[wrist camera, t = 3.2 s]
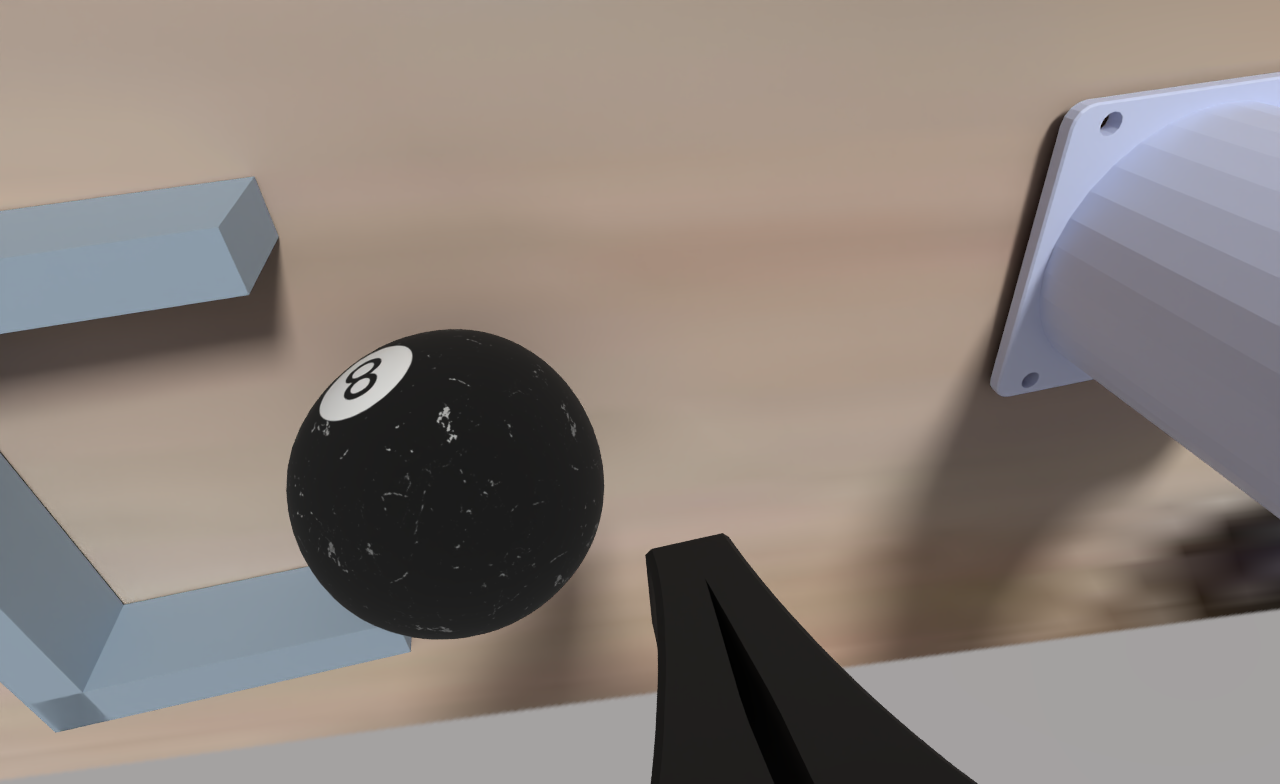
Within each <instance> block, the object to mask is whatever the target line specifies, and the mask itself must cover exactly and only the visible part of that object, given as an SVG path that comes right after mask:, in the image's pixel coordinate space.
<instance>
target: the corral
mask: <svg viewBox="0 0 1280 784" xmlns="http://www.w3.org/2000/svg"><path fill="white" fill-rule="evenodd" d="M278 237H279V236H278V234H277V231H276V229H275V226H274V224H273V222H272V219H271V217H270V214H269V212H268V209H267V207H266V204H265V202H264V199H263V197H262V194H261V192H260V189H259V187H258V184H257V182H256V179H255V177H247V178H240V179H232V180H225V181H218V182H210V183H203V184H196V185H188V186H181V187H174V188H166V189H159V190H152V191H144V192H137V193H129V194H122V195H115V196H107V197H100V198H93V199H85V200H78V201H71V202H63V203H56V204H49V205H41V206H34V207H26V208H19V209H12V210H4V211H0V334H3V333H9V332H16V331H22V330H28V329H35V328H41V327H47V326H54V325H60V324H67V323H73V322H79V321H86V320H92V319H98V318H105V317H111V316H118V315H124V314H130V313H137V312H143V311H149V310H156V309H162V308H169V307H175V306H181V305H188V304H194V303H200V302H207V301H213V300H219V299H226V298H232V297H239V296H245V295H249V294H250V292H251V290H252V288H253V286H254V284H255V282H256V280H257V278H258V276H259V274H260V272H261V270H262V268H263V266H264V265H265V263H266V261H267V259H268V257H269V255H270V253H271V251H272V249H273V247H274V245H275V243H276V241H277V239H278ZM411 638H412V637H409V636H404V635H400V634H396V633H392V632H389V631H387V630H384V629H381V628H379V627H376V626H374V625H372V624H370V623H368V622H366V621H364V620H362V619H360V618H359V617H357V616H356V615H354V614H353V613H351V612H350V611H348V610H347V609H346V608H344V607H343V606H342V605H341V604H339V603H338V602H337V601H336V600H335V599H334V598H333V597H332V596H331V595H330V594H329V593H328V592H327V590H326V589H325V588H324V587H323V586H322V585H321V584H320V582H319V581H318V580H317V578H316V577H315V575H314V574H313V573H312V571H311V569H310V568H309V566H308V567H304V568H299V569H294V570H289V571H284V572H279V573H275V574H270V575H265V576H260V577H255V578H251V579H246V580H241V581H236V582H231V583H227V584H222V585H217V586H212V587H207V588H203V589H198V590H193V591H188V592H183V593H178V594H174V595H169V596H164V597H159V598H154V599H150V600H145V601H140V602H135V603H130V604H126V605H123V603H122V602H121V601H120V600H119V598H118V597H117V596H116V595H115V593H114V592H113V591H112V590H111V589H110V587H109V586H108V585H107V584H106V582H105V581H104V580H103V579H102V577H101V576H100V575H99V574H98V573H97V571H96V570H95V569H94V568H93V566H92V565H91V564H90V563H89V561H88V560H87V559H86V558H85V557H84V555H83V554H82V553H81V552H80V550H79V549H78V548H77V547H76V545H75V544H74V543H73V542H72V541H71V539H70V538H69V537H68V536H67V534H66V533H65V532H64V531H63V529H62V528H61V527H60V526H59V525H58V523H57V522H56V521H55V520H54V518H53V517H52V516H51V515H50V513H49V512H48V511H47V510H46V509H45V507H44V506H43V505H42V504H41V502H40V501H39V500H38V499H37V497H36V496H35V495H34V494H33V493H32V491H31V490H30V489H29V488H28V486H27V485H26V484H25V483H24V481H23V480H22V479H21V478H20V477H19V475H18V474H17V473H16V472H15V470H14V469H13V468H12V467H11V465H10V464H9V463H8V462H7V461H6V459H5V458H4V457H3V456H2V454H1V453H0V682H1V683H2V684H3V685H4V686H5V687H6V688H8V689H9V690H10V691H11V692H12V693H13V694H14V695H15V696H16V697H17V698H18V699H20V700H21V701H22V702H23V703H24V704H25V705H26V706H27V707H28V708H29V709H30V710H32V711H33V712H34V713H35V714H36V715H37V716H38V717H39V718H40V719H41V720H43V721H44V722H45V723H46V724H47V725H48V726H49V727H50V728H51V729H52V730H53V731H55V732H60V731H65V730H69V729H74V728H78V727H82V726H87V725H91V724H95V723H100V722H104V721H109V720H113V719H117V718H122V717H126V716H131V715H135V714H139V713H144V712H148V711H153V710H157V709H161V708H166V707H170V706H175V705H179V704H183V703H188V702H192V701H197V700H201V699H205V698H210V697H214V696H219V695H223V694H227V693H232V692H236V691H241V690H245V689H249V688H254V687H258V686H263V685H267V684H271V683H276V682H280V681H285V680H289V679H293V678H298V677H302V676H306V675H311V674H315V673H320V672H324V671H328V670H333V669H337V668H342V667H346V666H350V665H355V664H359V663H364V662H368V661H372V660H377V659H381V658H386V657H390V656H394V655H399V654H403V653H408V652H411Z"/></svg>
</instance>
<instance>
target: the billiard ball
mask: <svg viewBox="0 0 1280 784" xmlns="http://www.w3.org/2000/svg"><path fill="white" fill-rule="evenodd" d="M286 492H287V503H288V512H289V517H290V521H291V525H292V529H293V533H294V536H295V538H296V541H297V543H298V546H299V548H300V551H301V553H302V555H303V557H304V559H305V561H306V562H307V564H308V566H309V568H310V569H311V571H312V573H313V574H314V575H315V577H316V578H317V580H318V581H319V582H320V584H321V585H322V586H323V587H324V588H325V589H326V590H327V592H328V593H329V594H330V595H331V596H332V597H333V598H334V599H335V600H336V601H337V602H338V603H339V604H341V605H342V606H343V607H344V608H346V609H347V610H348V611H350V612H351V613H353V614H354V615H356V616H357V617H359V618H360V619H362V620H364V621H366V622H368V623H370V624H372V625H374V626H376V627H379V628H381V629H384V630H387V631H389V632H392V633H396V634H400V635H404V636H409V637H414V638H422V639H458V638H466V637H471V636H476V635H480V634H485V633H488V632H492V631H495V630H498V629H501V628H503V627H505V626H508V625H510V624H512V623H514V622H516V621H518V620H520V619H522V618H524V617H525V616H527V615H529V614H530V613H532V612H533V611H535V610H536V609H538V608H539V607H541V606H542V605H543V604H544V603H546V602H547V601H548V600H549V599H551V598H552V597H553V596H554V595H555V594H556V593H557V592H558V591H559V590H560V589H561V588H562V587H563V586H564V585H565V583H566V582H567V581H568V580H569V579H570V578H571V577H572V575H573V574H574V573H575V571H576V570H577V569H578V567H579V566H580V564H581V563H582V561H583V559H584V558H585V556H586V554H587V552H588V550H589V548H590V546H591V544H592V542H593V540H594V537H595V534H596V531H597V528H598V525H599V521H600V517H601V512H602V507H603V495H604V475H603V464H602V459H601V454H600V449H599V445H598V442H597V439H596V436H595V433H594V430H593V427H592V425H591V423H590V421H589V418H588V416H587V414H586V412H585V410H584V408H583V407H582V405H581V403H580V402H579V400H578V398H577V397H576V396H575V394H574V393H573V391H572V390H571V389H570V387H569V386H568V385H567V383H566V382H565V381H564V380H563V379H562V378H561V377H560V375H559V374H558V373H557V372H556V371H555V370H554V369H553V368H551V367H550V366H549V365H548V364H547V363H546V362H545V361H543V360H542V359H541V358H539V357H538V356H536V355H535V354H534V353H532V352H531V351H529V350H527V349H526V348H524V347H522V346H521V345H519V344H516V343H514V342H512V341H510V340H507V339H505V338H502V337H499V336H496V335H493V334H489V333H485V332H480V331H473V330H462V329H448V330H436V331H430V332H424V333H419V334H416V335H412V336H408V337H404V338H402V339H399V340H396V341H393V342H391V343H389V344H386V345H384V346H382V347H380V348H378V349H376V350H375V351H373V352H371V353H370V354H368V355H366V356H365V357H363V358H361V359H360V360H359V361H357V362H356V363H354V364H353V365H352V366H350V367H349V368H348V369H347V370H346V371H344V372H343V373H342V374H341V375H340V376H339V377H338V378H337V379H336V380H334V381H333V383H332V384H331V385H330V386H329V387H328V388H327V389H326V390H325V391H324V392H323V394H322V395H321V396H320V398H319V399H318V400H317V401H316V403H315V404H314V405H313V407H312V408H311V410H310V411H309V413H308V415H307V417H306V418H305V420H304V422H303V424H302V425H301V427H300V430H299V432H298V434H297V437H296V439H295V442H294V445H293V447H292V451H291V455H290V460H289V464H288V470H287V489H286Z"/></svg>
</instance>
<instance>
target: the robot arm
mask: <svg viewBox="0 0 1280 784" xmlns="http://www.w3.org/2000/svg"><path fill="white" fill-rule="evenodd" d="M1108 115H1109V118H1108V120H1107V122H1106V124H1105V125H1104V126H1103V127H1102V128H1101V129H1100V127H1101V124H1102V122H1103V120H1104V119H1105V118H1106V117H1107V116H1108ZM1093 379H1094V380H1096V381H1097V382H1098V383H1100V384H1101V385H1102V386H1104V387H1105V388H1106V389H1108V390H1109V391H1110V392H1112V393H1113V394H1114V395H1116V396H1117V397H1118V398H1120V399H1121V400H1122V401H1124V402H1125V403H1126V404H1128V405H1129V406H1130V407H1132V408H1133V409H1134V410H1136V411H1137V412H1138V413H1140V414H1141V415H1142V416H1144V417H1145V418H1146V419H1148V420H1149V421H1150V422H1152V423H1153V424H1154V425H1156V426H1157V427H1158V428H1160V429H1161V430H1162V431H1164V432H1165V433H1166V434H1168V435H1169V436H1170V437H1172V438H1173V439H1174V440H1176V441H1177V442H1178V443H1180V444H1181V445H1182V446H1184V447H1185V448H1186V449H1188V450H1189V451H1190V452H1192V453H1193V454H1194V455H1196V456H1197V457H1198V458H1199V459H1201V460H1202V461H1203V462H1205V463H1206V464H1207V465H1209V466H1210V467H1211V468H1213V469H1214V470H1215V471H1217V472H1218V473H1219V474H1221V475H1222V476H1223V477H1225V478H1226V479H1227V480H1229V481H1230V482H1231V483H1233V484H1234V485H1235V486H1237V487H1238V488H1239V489H1241V490H1242V491H1243V492H1245V493H1246V494H1247V495H1249V496H1250V497H1251V498H1253V499H1254V500H1255V501H1257V502H1258V503H1259V504H1261V505H1262V506H1263V507H1265V508H1266V509H1267V510H1269V511H1270V512H1271V513H1273V514H1274V515H1275V516H1277V517H1278V518H1279V519H1280V72H1275V73H1268V74H1261V75H1254V76H1247V77H1240V78H1233V79H1226V80H1219V81H1212V82H1205V83H1199V84H1192V85H1185V86H1178V87H1171V88H1164V89H1157V90H1150V91H1143V92H1136V93H1129V94H1122V95H1115V96H1108V97H1101V98H1094V99H1087V100H1084V101H1081V102H1079V103H1077V104H1076V105H1075V106H1073V107H1072V108H1071V109H1070V110H1069V111H1068V113H1067V114H1066V115H1065V116H1064V118H1063V121H1062V123H1061V125H1060V129H1059V132H1058V136H1057V140H1056V143H1055V147H1054V150H1053V154H1052V158H1051V161H1050V165H1049V169H1048V172H1047V176H1046V180H1045V183H1044V187H1043V190H1042V194H1041V198H1040V201H1039V205H1038V209H1037V212H1036V216H1035V219H1034V223H1033V227H1032V230H1031V234H1030V238H1029V241H1028V245H1027V249H1026V252H1025V256H1024V259H1023V263H1022V267H1021V270H1020V274H1019V278H1018V281H1017V285H1016V289H1015V292H1014V296H1013V299H1012V303H1011V307H1010V310H1009V314H1008V318H1007V321H1006V325H1005V329H1004V332H1003V336H1002V339H1001V343H1000V347H999V350H998V354H997V358H996V361H995V365H994V369H993V372H992V376H991V379H990V386H991V387H992V389H993V390H994V391H995V392H996V393H997V394H999V395H1000V396H1003V397H1009V396H1014V395H1019V394H1024V393H1029V392H1034V391H1039V390H1044V389H1049V388H1054V387H1059V386H1064V385H1069V384H1073V383H1078V382H1083V381H1088V380H1093ZM645 556H646V566H647V576H648V586H649V596H650V606H651V616H652V624H653V628H654V633H655V637H656V642H657V648H658V690H657V712H656V731H655V745H654V757H653V767H652V777H651V784H977V783H976V782H975V781H973V780H972V779H970V778H969V777H968V776H967V775H965V774H964V773H963V772H961V771H960V770H959V769H957V768H956V767H955V766H953V765H952V764H951V763H950V762H948V761H947V760H946V759H945V758H943V757H942V756H941V755H940V754H938V753H937V752H936V751H935V750H934V749H932V748H931V747H930V746H929V745H927V744H926V743H925V742H924V741H923V740H921V739H920V738H919V737H918V736H916V735H915V734H914V733H913V732H911V731H910V730H909V729H908V728H907V727H906V726H905V725H904V724H902V723H901V722H900V721H899V720H898V719H896V718H895V717H894V716H893V715H892V714H891V713H890V712H889V711H887V710H886V709H885V708H884V707H883V706H882V705H881V704H880V703H879V702H878V701H876V700H875V699H874V698H873V697H872V696H871V695H870V694H869V693H868V692H867V691H866V690H865V689H863V688H862V687H861V686H860V685H859V684H858V683H857V682H856V681H855V680H854V679H853V678H852V677H851V676H850V675H849V674H848V673H847V672H846V671H845V670H844V669H843V668H842V667H841V666H840V665H839V664H838V663H837V662H836V661H835V660H834V659H833V658H832V657H831V656H830V655H829V654H828V653H827V652H826V651H825V650H824V649H823V648H822V647H821V646H820V645H819V644H818V643H817V642H816V641H815V640H814V639H813V638H812V637H811V635H810V634H809V633H808V632H807V631H806V630H805V629H804V628H803V627H802V626H801V625H800V624H799V622H798V621H797V620H796V619H795V618H794V617H793V616H792V615H791V614H790V613H789V612H788V610H787V609H786V608H785V607H784V606H783V605H782V604H781V602H780V601H779V600H778V599H777V598H776V597H775V596H774V594H773V593H772V592H771V591H770V590H769V588H768V587H767V586H766V585H765V584H764V582H763V581H762V580H761V579H760V578H759V576H758V575H757V574H756V573H755V571H754V570H753V569H752V568H751V566H750V565H749V564H748V562H747V561H746V560H745V559H744V557H743V556H742V554H741V553H740V552H739V550H738V549H737V548H736V546H735V545H734V544H733V542H732V541H731V539H730V538H729V537H728V536H726V535H725V534H723V533H721V534H717V535H712V536H708V537H703V538H699V539H694V540H690V541H685V542H681V543H676V544H672V545H667V546H663V547H658V548H654V549H651V550H650V551H649V552H648V553H647V554H646V555H645Z"/></svg>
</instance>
